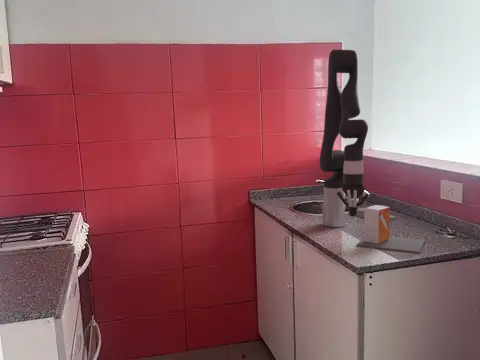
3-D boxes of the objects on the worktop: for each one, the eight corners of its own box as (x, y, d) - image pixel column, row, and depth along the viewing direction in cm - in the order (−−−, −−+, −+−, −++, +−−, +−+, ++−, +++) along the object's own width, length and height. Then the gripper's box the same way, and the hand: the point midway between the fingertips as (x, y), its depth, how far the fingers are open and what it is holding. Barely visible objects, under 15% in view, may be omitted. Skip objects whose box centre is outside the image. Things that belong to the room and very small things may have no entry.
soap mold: (380, 223, 202) (380, 216, 202) (348, 215, 220) (348, 208, 219) (396, 220, 207) (396, 212, 207) (364, 212, 225) (364, 206, 224)
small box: (378, 244, 167) (378, 210, 165) (363, 241, 172) (363, 207, 170) (389, 239, 173) (390, 206, 171) (374, 237, 177) (375, 204, 175)
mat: (356, 246, 168) (356, 244, 168) (366, 235, 182) (366, 234, 182) (419, 253, 157) (419, 251, 157) (425, 241, 171) (425, 239, 171)
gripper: (333, 172, 173) (333, 216, 175) (368, 173, 166) (368, 219, 169) (339, 170, 179) (339, 212, 182) (373, 171, 173) (372, 215, 175)
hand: (353, 216), depth 175 cm, fingers closed
